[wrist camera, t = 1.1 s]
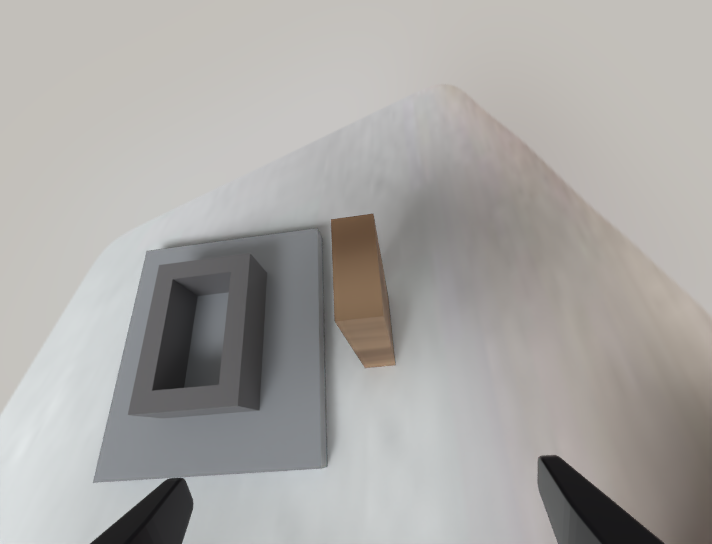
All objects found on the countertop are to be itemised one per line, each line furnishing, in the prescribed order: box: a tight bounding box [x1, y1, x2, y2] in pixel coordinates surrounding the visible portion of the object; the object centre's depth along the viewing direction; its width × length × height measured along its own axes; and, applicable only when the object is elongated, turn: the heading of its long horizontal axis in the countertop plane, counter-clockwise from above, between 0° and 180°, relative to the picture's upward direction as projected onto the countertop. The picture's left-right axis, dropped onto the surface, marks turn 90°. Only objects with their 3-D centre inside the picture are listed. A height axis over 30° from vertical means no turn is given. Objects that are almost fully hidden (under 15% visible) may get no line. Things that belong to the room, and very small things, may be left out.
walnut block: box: [331, 214, 395, 368], centre depth 20 cm, size 5×2×10 cm, turn 3°
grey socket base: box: [93, 228, 327, 483], centre depth 23 cm, size 16×14×4 cm
